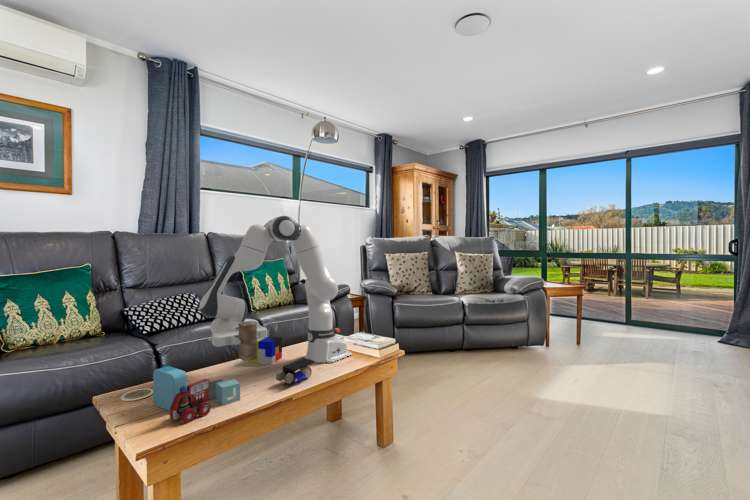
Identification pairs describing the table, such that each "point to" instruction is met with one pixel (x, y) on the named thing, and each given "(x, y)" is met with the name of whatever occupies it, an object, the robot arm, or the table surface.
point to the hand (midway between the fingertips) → (248, 340)
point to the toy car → (293, 376)
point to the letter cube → (227, 391)
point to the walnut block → (248, 341)
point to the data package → (167, 385)
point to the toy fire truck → (191, 401)
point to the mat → (213, 389)
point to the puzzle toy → (268, 350)
